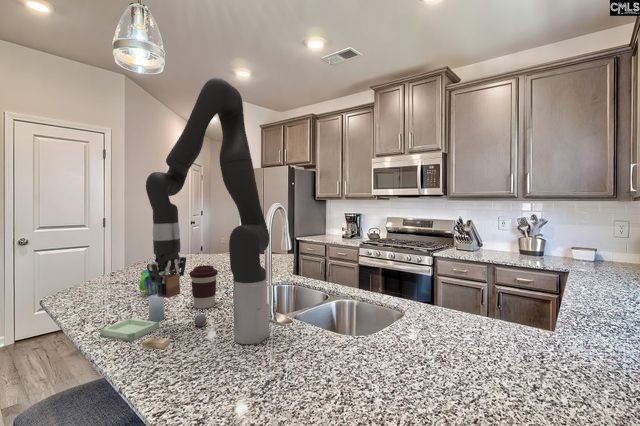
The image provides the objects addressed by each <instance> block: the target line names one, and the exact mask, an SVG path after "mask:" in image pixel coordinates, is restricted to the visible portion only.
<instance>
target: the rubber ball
mask: <svg viewBox="0 0 640 426" xmlns="http://www.w3.org/2000/svg"><path fill="white" fill-rule="evenodd" d="M206 323H207V317H206V315H205V314H197V316H196V317H195V318H194V324H195V325H196V326H197V327H203V326H205V324H206Z"/></svg>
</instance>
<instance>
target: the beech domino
mask: <svg viewBox="0 0 640 426" xmlns="http://www.w3.org/2000/svg"><path fill="white" fill-rule="evenodd" d="M169 345H170V338H167V337H148V338H146V339H145V340H142V341H141V348H142V349H154V350H155V349H156V350H164V349H165V348H167V347H168V346H169Z"/></svg>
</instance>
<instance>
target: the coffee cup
mask: <svg viewBox="0 0 640 426" xmlns="http://www.w3.org/2000/svg"><path fill="white" fill-rule="evenodd" d="M189 276H190V278H191V291H192V292H191V293H192V298H193V306H194V308H195V309H200V310H202V309H210V308H212V307H214V306H215V302H216V301H215V300H216V298H215V297H216V294H217V293H216V292H217V276H218V269H217V268H215V267H214V266H213V265H210V264H209V265H208V264H207V265H198V266H194V268H193V270H191V271H190V272H189Z"/></svg>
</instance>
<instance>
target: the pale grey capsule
mask: <svg viewBox="0 0 640 426" xmlns="http://www.w3.org/2000/svg"><path fill="white" fill-rule="evenodd" d="M147 298H148V303H147V304H148V321H153V322H162V321H163V320H164V319H165V305H164V303H165V300H164V299H165V297H158V296H157V294H156V295H151V296H148V297H147ZM161 320H162V321H161Z"/></svg>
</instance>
